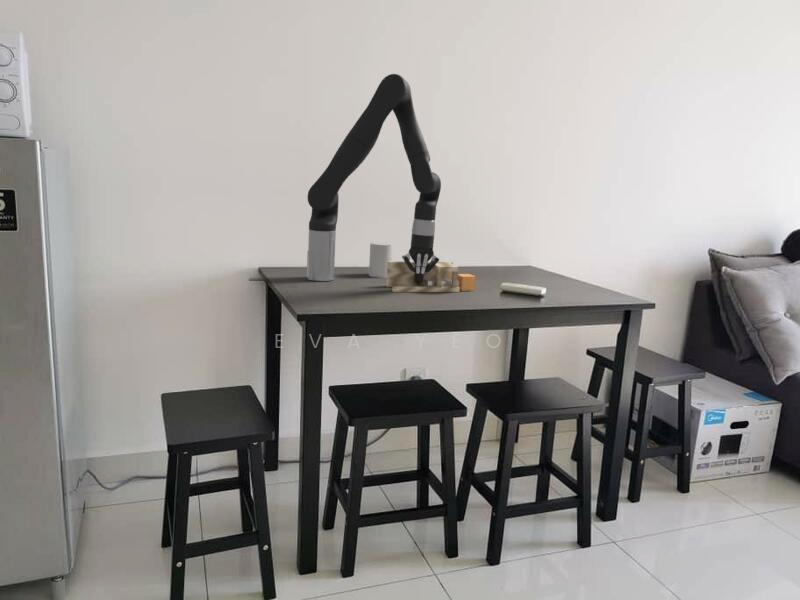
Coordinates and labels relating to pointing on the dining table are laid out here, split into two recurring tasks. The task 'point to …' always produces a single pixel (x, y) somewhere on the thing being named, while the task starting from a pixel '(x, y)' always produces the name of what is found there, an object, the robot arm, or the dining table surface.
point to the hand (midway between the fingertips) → (418, 283)
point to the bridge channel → (404, 277)
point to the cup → (379, 259)
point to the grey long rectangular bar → (444, 283)
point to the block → (467, 282)
